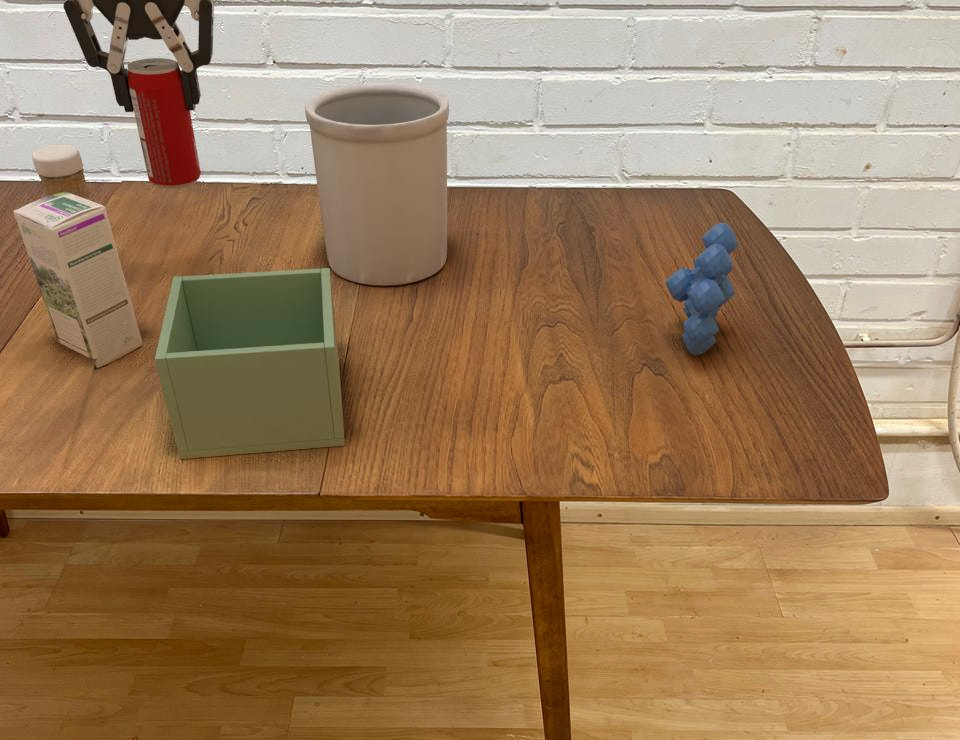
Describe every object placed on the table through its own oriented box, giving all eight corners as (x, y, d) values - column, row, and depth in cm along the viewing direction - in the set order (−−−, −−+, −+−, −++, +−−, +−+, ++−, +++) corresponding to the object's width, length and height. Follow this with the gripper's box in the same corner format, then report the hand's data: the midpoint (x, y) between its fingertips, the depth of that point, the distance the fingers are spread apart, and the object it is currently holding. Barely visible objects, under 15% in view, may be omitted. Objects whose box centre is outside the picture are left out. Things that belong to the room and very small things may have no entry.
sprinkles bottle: (110, 260, 101) (78, 140, 93) (112, 277, 98) (79, 155, 90) (67, 265, 100) (31, 145, 92) (68, 284, 97) (30, 161, 88)
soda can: (211, 181, 96) (191, 62, 89) (166, 194, 93) (141, 72, 85) (183, 167, 99) (162, 51, 91) (139, 179, 96) (112, 60, 88)
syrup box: (145, 345, 88) (109, 202, 78) (95, 371, 84) (50, 225, 74) (108, 327, 90) (68, 187, 81) (57, 352, 86) (9, 208, 77)
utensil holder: (296, 255, 103) (276, 98, 92) (398, 221, 111) (391, 72, 100) (372, 303, 95) (360, 136, 84) (476, 262, 102) (479, 105, 91)
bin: (180, 459, 74) (154, 358, 68) (194, 370, 84) (173, 276, 78) (344, 446, 76) (334, 346, 69) (339, 360, 86) (329, 267, 80)
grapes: (666, 308, 95) (684, 199, 87) (730, 319, 93) (754, 209, 86) (646, 363, 86) (664, 248, 79) (716, 376, 85) (742, 260, 77)
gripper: (207, -90, 84) (234, 96, 95) (48, -91, 83) (94, 99, 93) (201, -78, 79) (230, 119, 89) (29, -79, 77) (80, 122, 88)
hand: (160, 108), depth 91 cm, fingers closed on soda can, 5 cm apart
